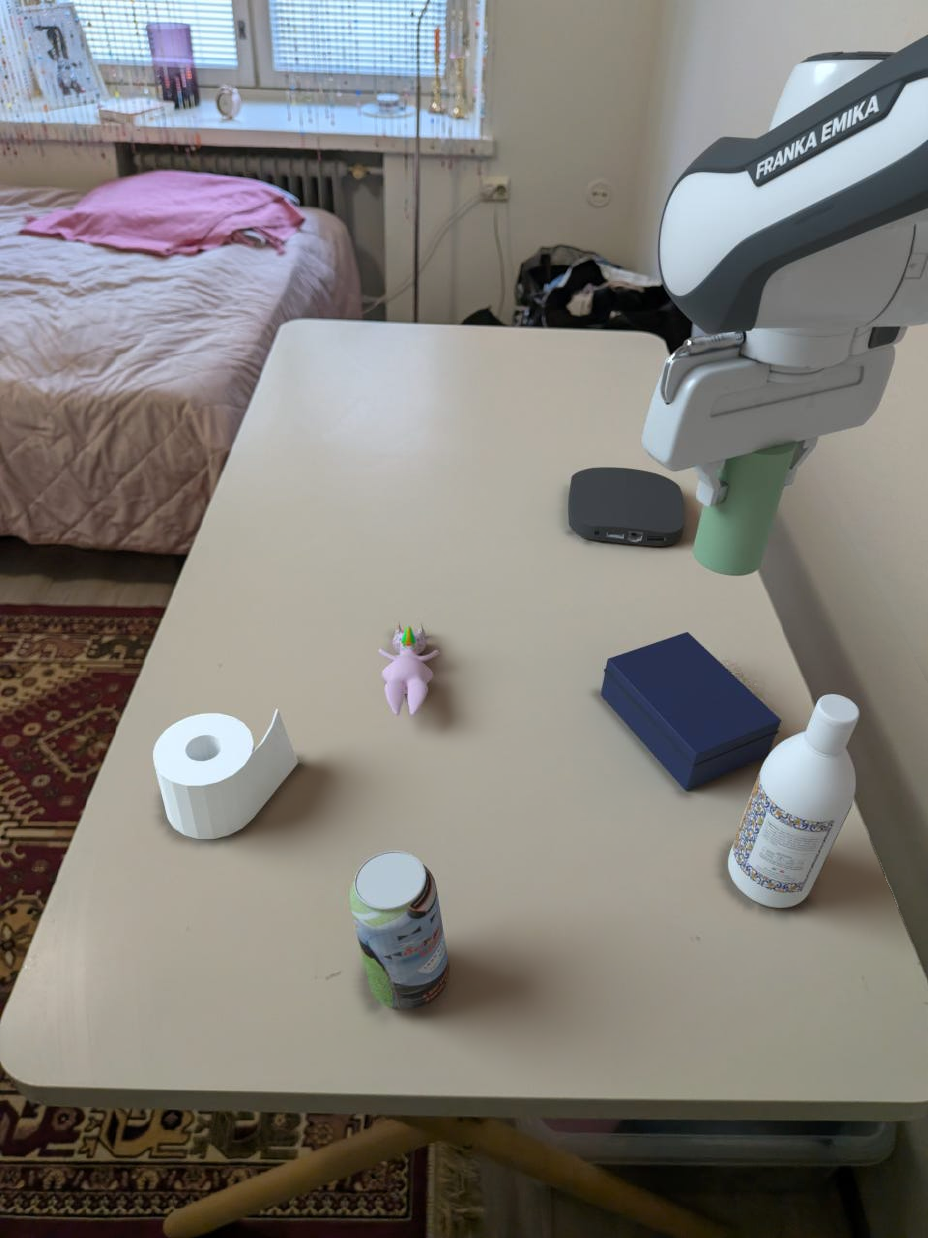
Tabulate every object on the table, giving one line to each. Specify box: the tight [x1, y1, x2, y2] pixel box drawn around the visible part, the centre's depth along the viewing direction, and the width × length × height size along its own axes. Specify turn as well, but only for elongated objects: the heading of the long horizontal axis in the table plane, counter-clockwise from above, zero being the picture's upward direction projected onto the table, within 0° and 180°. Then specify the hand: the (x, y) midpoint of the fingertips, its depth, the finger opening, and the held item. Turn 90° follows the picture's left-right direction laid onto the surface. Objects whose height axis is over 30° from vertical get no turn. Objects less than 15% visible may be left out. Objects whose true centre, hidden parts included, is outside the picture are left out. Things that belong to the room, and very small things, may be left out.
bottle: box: [692, 442, 797, 577], centre depth 72 cm, size 6×6×16 cm
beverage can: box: [348, 850, 450, 1011], centre depth 66 cm, size 6×7×12 cm
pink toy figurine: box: [378, 621, 440, 717], centre depth 93 cm, size 6×6×15 cm
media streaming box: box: [567, 466, 686, 547], centre depth 120 cm, size 15×15×3 cm
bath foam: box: [727, 693, 860, 909], centre depth 72 cm, size 7×7×20 cm
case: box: [600, 631, 782, 792], centre depth 90 cm, size 14×10×5 cm
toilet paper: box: [152, 708, 299, 840], centre depth 81 cm, size 8×11×7 cm
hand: (744, 492), depth 73 cm, fingers closed on bottle, 5 cm apart
